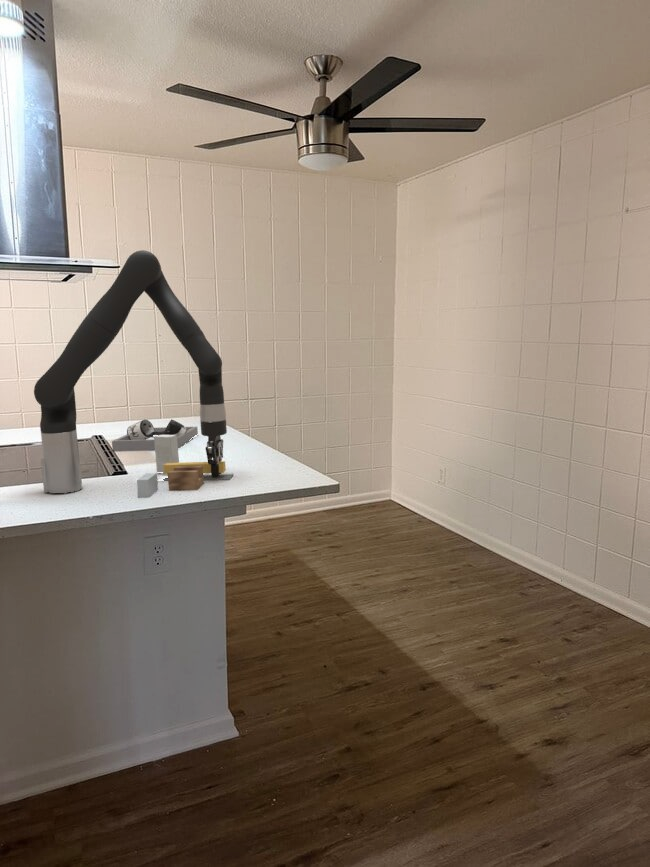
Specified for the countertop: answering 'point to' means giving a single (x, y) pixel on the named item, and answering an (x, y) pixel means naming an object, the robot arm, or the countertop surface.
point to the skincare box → (165, 450)
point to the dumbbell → (146, 430)
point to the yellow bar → (205, 465)
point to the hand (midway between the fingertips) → (216, 475)
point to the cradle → (185, 478)
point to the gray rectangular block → (147, 485)
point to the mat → (210, 478)
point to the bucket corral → (149, 441)
